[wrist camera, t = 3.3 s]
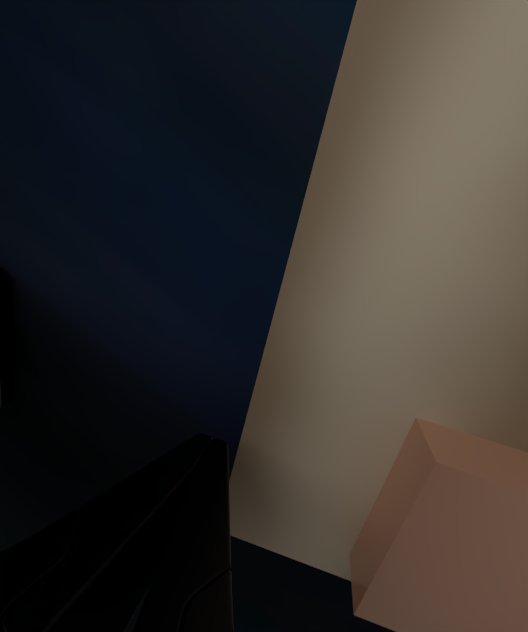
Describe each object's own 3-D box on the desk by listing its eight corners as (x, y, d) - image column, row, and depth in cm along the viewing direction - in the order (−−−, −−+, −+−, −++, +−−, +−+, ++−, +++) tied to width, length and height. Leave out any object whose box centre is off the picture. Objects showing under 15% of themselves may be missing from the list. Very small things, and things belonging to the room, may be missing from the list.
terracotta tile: (349, 554, 9) (353, 615, 8) (415, 417, 8) (436, 462, 6) (526, 620, 9) (565, 698, 7) (638, 487, 7) (716, 554, 6)
